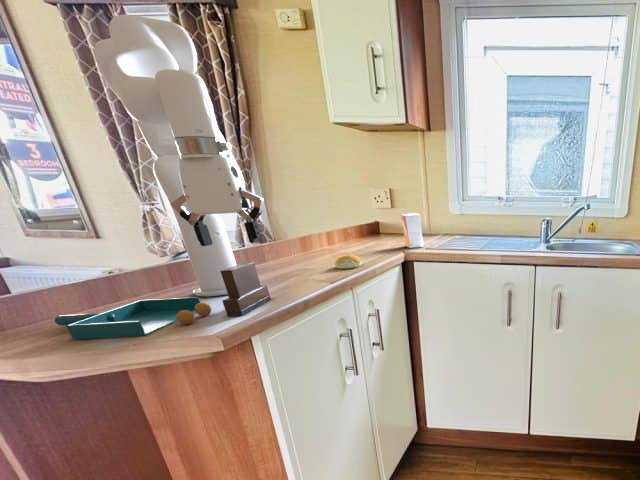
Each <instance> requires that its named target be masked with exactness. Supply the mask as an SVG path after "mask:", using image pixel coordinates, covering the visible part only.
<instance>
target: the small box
mask: <svg viewBox="0 0 640 480" xmlns="http://www.w3.org/2000/svg"><path fill="white" fill-rule="evenodd" d="M400 218H401V225H402V232H403V233H402V234H403V239H404V247H407V248H409V249H415V248H423V247H425V244H424V236H423V229H422V221H421V214H420V213H404V214H400Z"/></svg>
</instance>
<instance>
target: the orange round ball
mask: <svg viewBox="0 0 640 480" xmlns="http://www.w3.org/2000/svg"><path fill="white" fill-rule="evenodd" d="M200 302H201V301H200ZM195 311H196V312H195V313H196V314H197V315H198V316H202V317H206V316H209V315H210V314H211V312H212V307H211V305H209V304H208V303H206V302H201V303H198V304H196V306H195Z"/></svg>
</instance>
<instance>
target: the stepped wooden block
mask: <svg viewBox="0 0 640 480" xmlns="http://www.w3.org/2000/svg"><path fill="white" fill-rule="evenodd" d="M221 274H222V278H223V281H224V284H225V287H226V290H227V293H228V294H227V295H228V297H227V298H225V299H223V300H222V304H223V307H224V310H225V314H226V316H227V318H228V317H241V316H245V315H246V314H248V313H250V312H252V311H254V310H255V309H256V308H259V307H260V306H262V305H264V304H266V303H268V302H269V301H271V299H272V298H271V295H270V292H269V288H268V285H264V284H263V285H261V282H260V278H259V274H258V271H257V268H256V264H255V262H253V261H252V262H242V263H239V264H237V265H236V266H233V267H230V268H227V269H224V270H222V271H221Z"/></svg>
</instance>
